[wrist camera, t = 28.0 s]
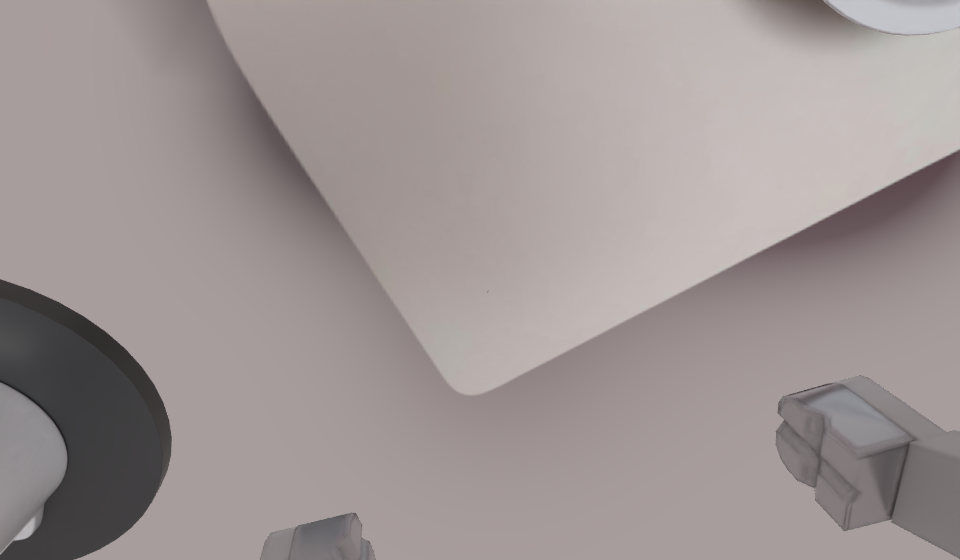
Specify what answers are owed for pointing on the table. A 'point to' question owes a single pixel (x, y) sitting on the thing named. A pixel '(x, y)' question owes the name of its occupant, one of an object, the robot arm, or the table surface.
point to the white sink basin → (901, 15)
